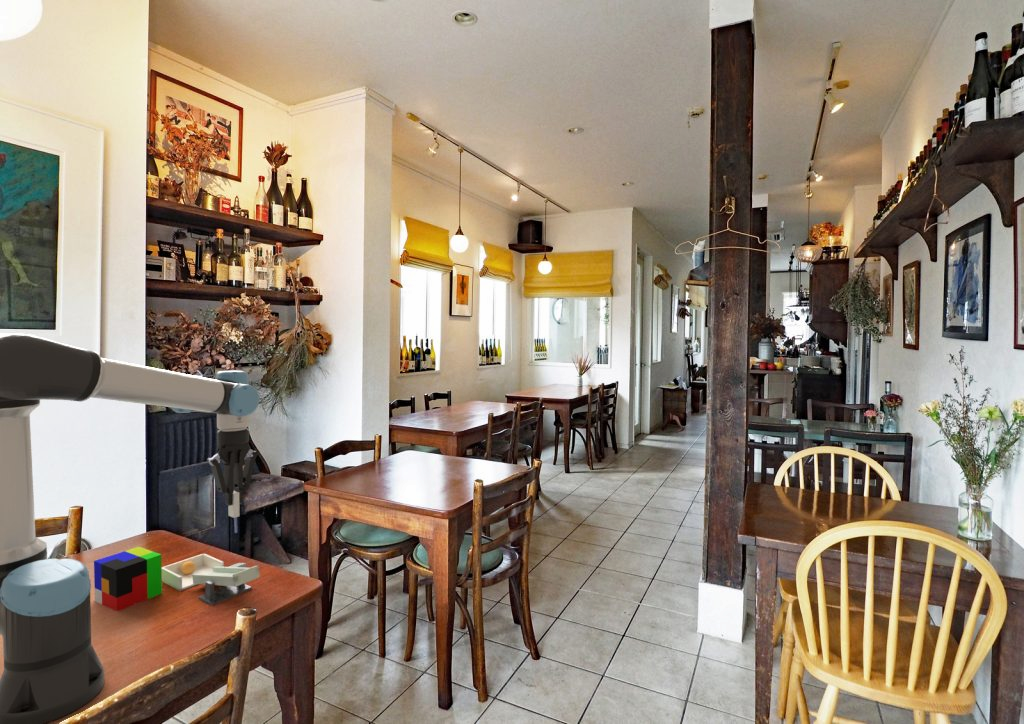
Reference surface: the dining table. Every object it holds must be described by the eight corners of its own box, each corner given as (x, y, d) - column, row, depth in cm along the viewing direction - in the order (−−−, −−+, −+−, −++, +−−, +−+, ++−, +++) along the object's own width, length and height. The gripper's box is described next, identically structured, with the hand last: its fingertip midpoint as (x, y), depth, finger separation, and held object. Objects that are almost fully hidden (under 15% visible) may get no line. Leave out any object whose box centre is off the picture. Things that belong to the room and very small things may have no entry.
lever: (282, 568, 134) (280, 557, 135) (235, 586, 124) (234, 574, 125) (238, 566, 145) (237, 556, 145) (193, 583, 135) (191, 572, 135)
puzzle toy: (94, 601, 128) (93, 560, 128) (139, 584, 137) (139, 546, 137) (116, 611, 124) (116, 569, 123) (162, 593, 132) (161, 554, 132)
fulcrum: (251, 589, 135) (251, 571, 135) (211, 605, 127) (211, 587, 126) (238, 583, 138) (238, 566, 138) (198, 598, 130) (198, 580, 130)
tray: (179, 591, 134) (179, 577, 133) (160, 580, 139) (160, 567, 139) (223, 574, 143) (223, 561, 143) (204, 565, 148) (204, 553, 148)
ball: (177, 571, 142) (183, 578, 140) (179, 561, 141) (185, 568, 140) (190, 567, 145) (196, 573, 143) (192, 557, 144) (198, 563, 142)
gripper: (216, 433, 133) (217, 525, 134) (264, 426, 144) (264, 512, 145) (200, 430, 137) (201, 520, 138) (248, 424, 148) (249, 507, 149)
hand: (233, 515), depth 142 cm, fingers closed
